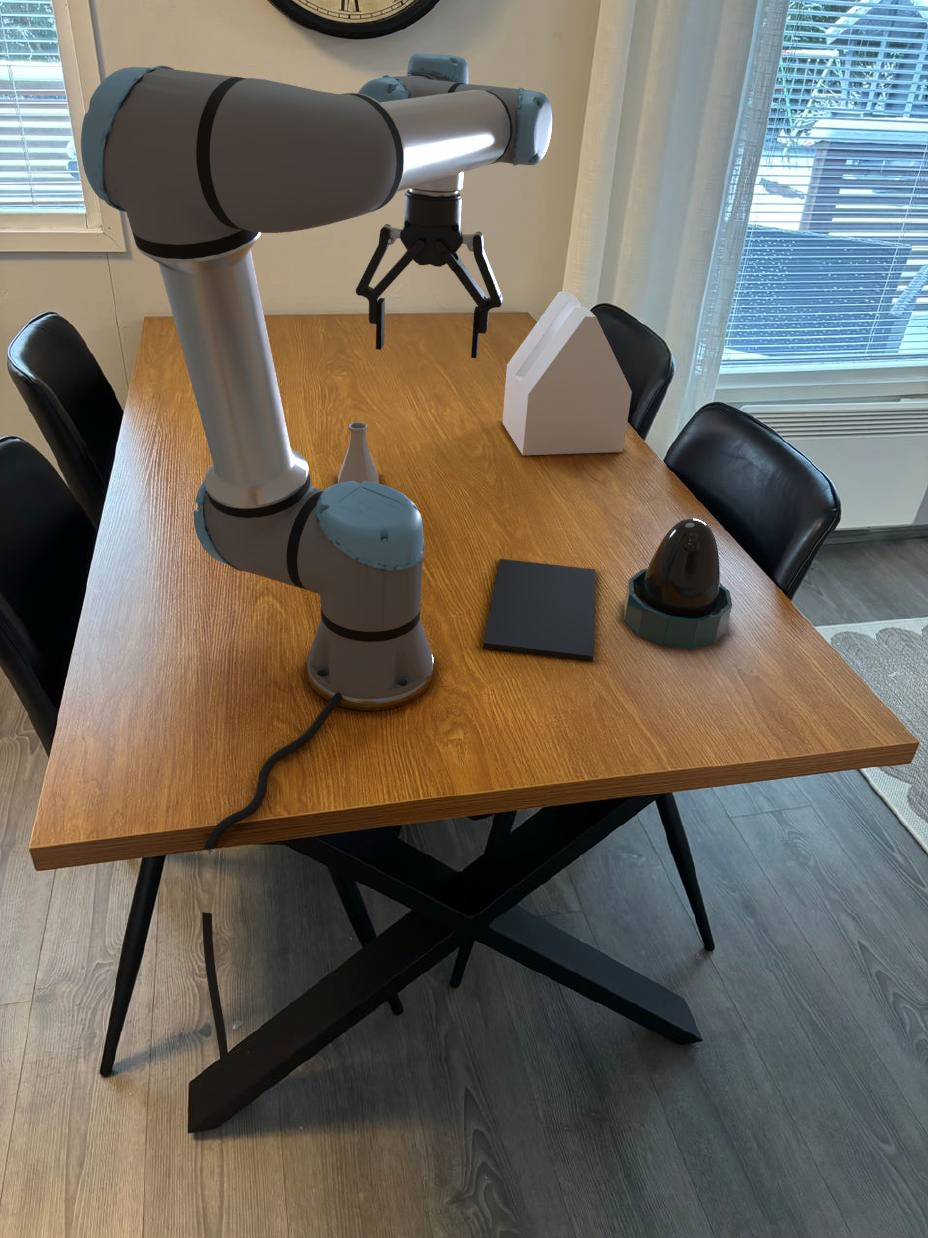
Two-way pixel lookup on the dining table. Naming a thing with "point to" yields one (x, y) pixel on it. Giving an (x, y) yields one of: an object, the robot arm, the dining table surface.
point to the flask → (358, 457)
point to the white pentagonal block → (566, 386)
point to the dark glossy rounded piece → (684, 572)
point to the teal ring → (674, 620)
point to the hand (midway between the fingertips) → (427, 351)
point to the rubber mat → (542, 610)
